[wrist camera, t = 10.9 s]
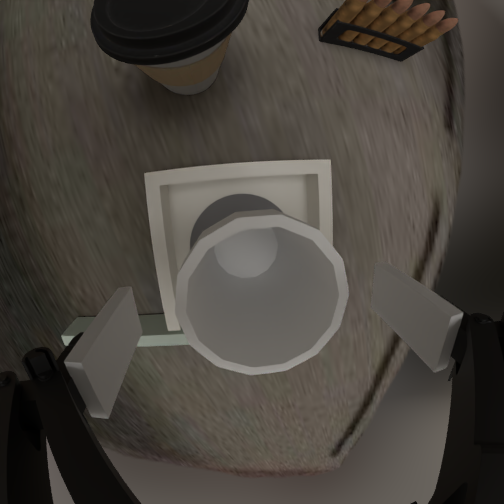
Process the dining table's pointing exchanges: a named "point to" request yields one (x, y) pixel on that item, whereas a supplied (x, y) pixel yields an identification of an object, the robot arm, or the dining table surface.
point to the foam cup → (260, 292)
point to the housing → (228, 206)
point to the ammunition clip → (384, 27)
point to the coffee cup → (169, 37)
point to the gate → (151, 327)
